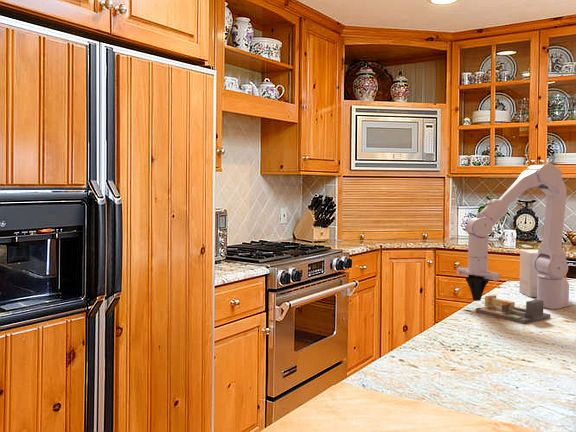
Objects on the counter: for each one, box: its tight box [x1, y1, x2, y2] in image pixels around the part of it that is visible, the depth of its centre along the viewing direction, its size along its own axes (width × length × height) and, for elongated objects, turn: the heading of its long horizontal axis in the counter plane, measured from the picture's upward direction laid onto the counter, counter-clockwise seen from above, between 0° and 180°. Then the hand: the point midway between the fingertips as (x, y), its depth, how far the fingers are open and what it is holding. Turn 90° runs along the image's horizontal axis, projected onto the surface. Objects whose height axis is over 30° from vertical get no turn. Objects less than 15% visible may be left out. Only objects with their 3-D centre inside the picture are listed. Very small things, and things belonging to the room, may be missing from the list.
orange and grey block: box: [502, 300, 509, 312], centre depth 157 cm, size 2×1×3 cm, turn 123°
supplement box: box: [518, 249, 539, 298], centre depth 187 cm, size 9×9×15 cm
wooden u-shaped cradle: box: [484, 294, 516, 309], centre depth 162 cm, size 6×8×3 cm
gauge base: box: [475, 299, 551, 325], centre depth 159 cm, size 12×16×5 cm
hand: (476, 300), depth 170 cm, fingers closed
